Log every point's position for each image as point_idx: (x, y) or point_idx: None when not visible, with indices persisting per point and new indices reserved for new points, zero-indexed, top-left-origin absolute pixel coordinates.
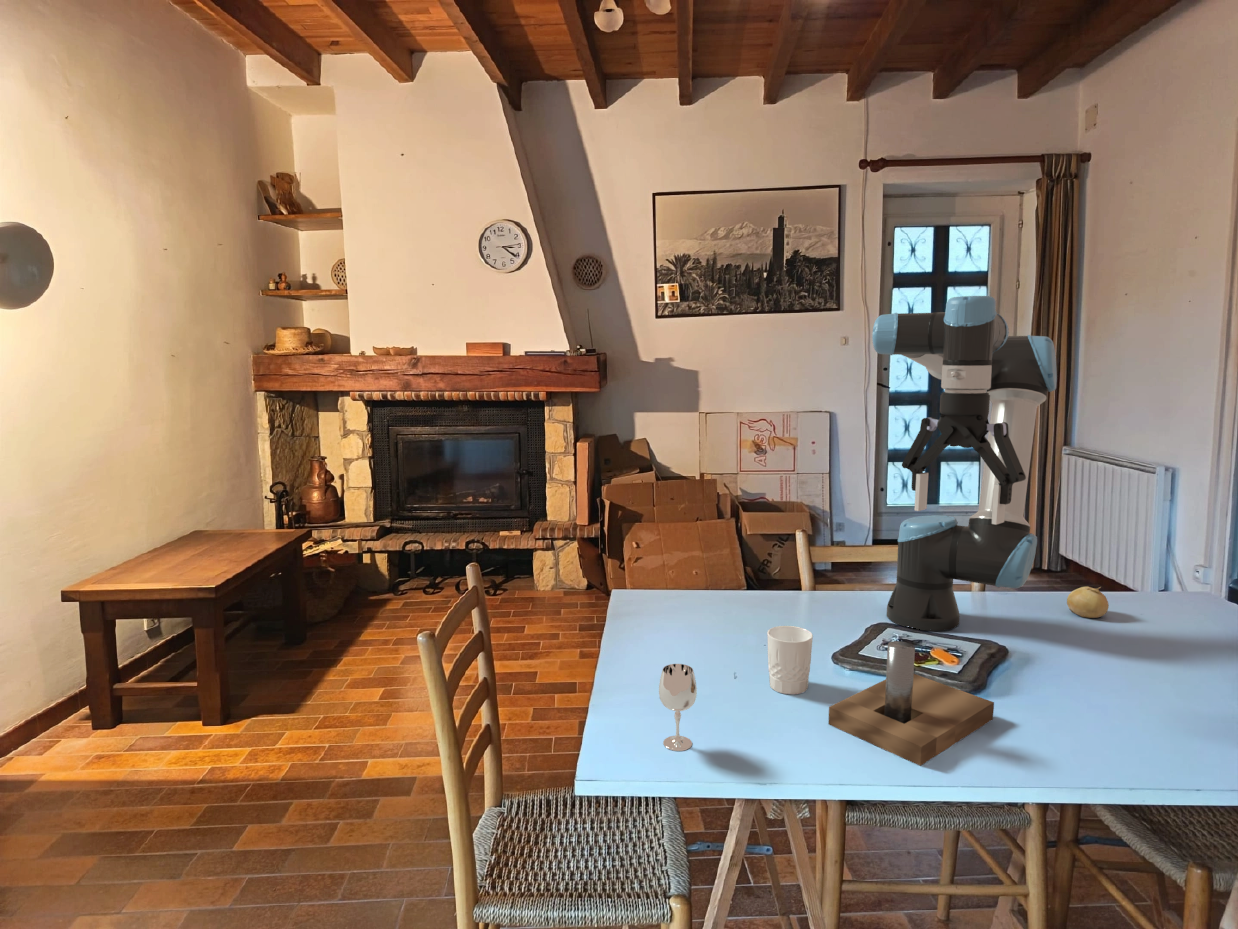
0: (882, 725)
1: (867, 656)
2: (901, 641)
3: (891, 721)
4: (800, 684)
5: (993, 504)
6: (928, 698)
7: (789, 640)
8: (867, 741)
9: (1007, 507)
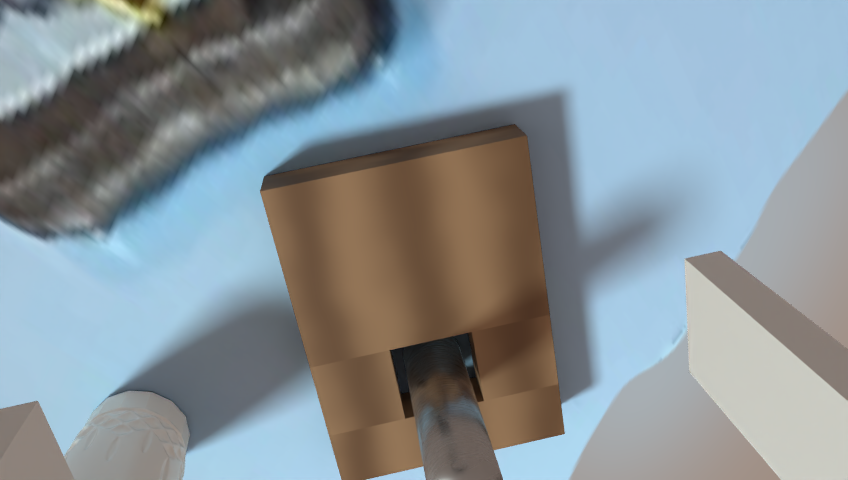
0: None
1: (31, 109)
2: (441, 467)
3: None
4: (186, 447)
5: (781, 473)
6: (424, 266)
7: None
8: None
9: None
